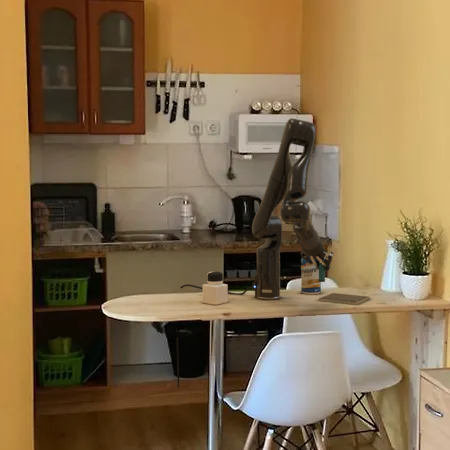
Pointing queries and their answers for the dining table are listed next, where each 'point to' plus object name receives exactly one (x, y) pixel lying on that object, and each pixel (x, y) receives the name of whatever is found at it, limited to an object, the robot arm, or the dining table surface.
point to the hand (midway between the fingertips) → (324, 269)
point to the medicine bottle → (215, 289)
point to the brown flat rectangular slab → (344, 298)
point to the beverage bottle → (309, 278)
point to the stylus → (321, 273)
